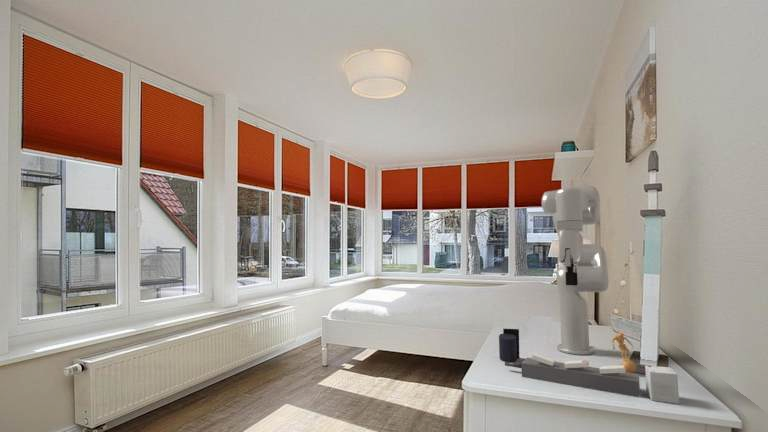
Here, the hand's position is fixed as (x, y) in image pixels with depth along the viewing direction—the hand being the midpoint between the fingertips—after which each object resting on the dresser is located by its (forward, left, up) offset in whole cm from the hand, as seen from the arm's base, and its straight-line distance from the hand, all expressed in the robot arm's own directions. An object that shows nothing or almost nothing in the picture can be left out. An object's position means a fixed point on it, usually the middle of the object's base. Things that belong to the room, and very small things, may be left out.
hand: (571, 284), depth 125 cm
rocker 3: (+10, +11, -22) cm, 26 cm away
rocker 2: (+10, +2, -22) cm, 24 cm away
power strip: (+9, -1, -27) cm, 29 cm away
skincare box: (+10, +22, -27) cm, 37 cm away
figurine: (-9, +13, -27) cm, 32 cm away
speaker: (-3, -21, -27) cm, 35 cm away
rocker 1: (+10, -7, -22) cm, 25 cm away
